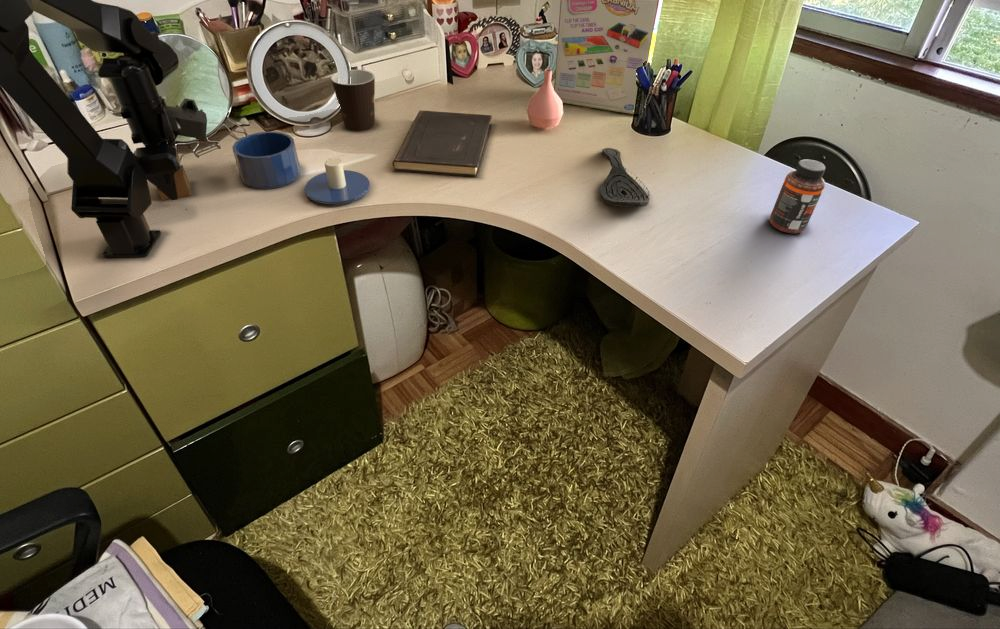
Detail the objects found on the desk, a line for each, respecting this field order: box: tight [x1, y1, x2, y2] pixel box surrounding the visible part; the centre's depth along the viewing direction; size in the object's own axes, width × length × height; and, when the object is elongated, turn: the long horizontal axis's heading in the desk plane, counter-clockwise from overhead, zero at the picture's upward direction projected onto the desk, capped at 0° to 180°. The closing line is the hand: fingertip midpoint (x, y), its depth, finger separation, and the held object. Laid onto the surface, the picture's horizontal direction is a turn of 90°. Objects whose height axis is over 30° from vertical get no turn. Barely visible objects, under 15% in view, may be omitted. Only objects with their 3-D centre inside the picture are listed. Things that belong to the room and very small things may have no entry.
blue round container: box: [232, 131, 302, 190], centre depth 105 cm, size 10×10×6 cm
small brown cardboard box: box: [156, 164, 192, 201], centre depth 100 cm, size 4×5×4 cm
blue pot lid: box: [304, 157, 371, 205], centre depth 101 cm, size 11×11×6 cm
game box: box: [553, 0, 663, 115], centre depth 126 cm, size 21×6×27 cm, turn 69°
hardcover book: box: [392, 109, 493, 178], centre depth 116 cm, size 16×23×2 cm
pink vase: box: [526, 68, 564, 130], centre depth 121 cm, size 8×8×12 cm
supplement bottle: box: [769, 158, 826, 234], centre depth 95 cm, size 6×6×11 cm
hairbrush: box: [599, 147, 650, 208], centre depth 107 cm, size 8×4×25 cm
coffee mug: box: [330, 68, 376, 132], centre depth 122 cm, size 12×9×10 cm
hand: (174, 186), depth 101 cm, fingers open, 9 cm apart
